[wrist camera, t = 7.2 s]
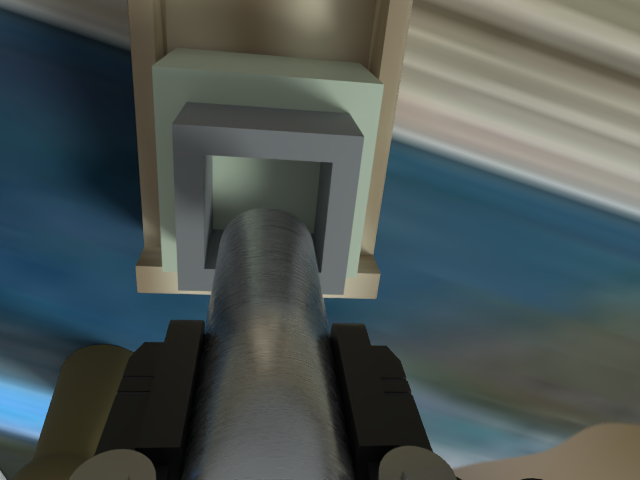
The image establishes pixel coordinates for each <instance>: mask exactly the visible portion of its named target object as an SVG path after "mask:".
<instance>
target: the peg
mask: <svg viewBox="0 0 640 480" xmlns="http://www.w3.org/2000/svg"><path fill="white" fill-rule="evenodd" d="M180 480H356V476H355V472H354V467H353V461H352V456H351V450H350V445H349V439H348V434H347V428H346V423H345V417H344V412H343V406H342V401H341V395H340V390H339V384H338V379H337V373H336V368H335V362H334V357H333V351H332V346H331V340H330V333H329V328H328V322H327V317H326V311H325V306H324V300H323V295H322V289H321V284H320V278H319V273H318V267H317V262H316V256H315V251H314V245H313V240H312V237H311V234H310V232H309V230H308V229H307V227H306V226H305V224H304V223H303V222H302V221H301V220H300V219H299V218H297V217H296V216H294V215H293V214H291V213H289V212H287V211H284V210H281V209H277V208H270V207H263V208H256V209H252V210H249V211H246V212H244V213H242V214H240V215H239V216H237V217H236V218H234V219H233V220H232V221H231V222H230V223H229V224H228V226H227V227H226V228H225V230H224V232H223V234H222V237H221V240H220V245H219V250H218V256H217V262H216V268H215V274H214V279H213V285H212V291H211V297H210V302H209V308H208V314H207V320H206V326H205V337H204V343H203V349H202V355H201V361H200V367H199V373H198V379H197V385H196V391H195V397H194V403H193V409H192V414H191V420H190V426H189V432H188V438H187V444H186V450H185V456H184V462H183V468H182V474H181V477H180Z"/></svg>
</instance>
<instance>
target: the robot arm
mask: <svg viewBox="0 0 640 480" xmlns="http://www.w3.org/2000/svg"><path fill="white" fill-rule="evenodd" d="M204 337H205V323H204V320H171V321H170V323H169V327H168V330H167V334H166V337H165V341H164V342H144V343H143V344H142V345H141V346H140V347H139V348H138V349H137V350H136V351H135V352H134V353H133V354H132V355H131V356H130V357H129V360H128V362H127V365H126V368H125V371H124V374H123V379H121V382H120V385H119V387H118V390H117V395H116V396H115V399H114V401H113V404H112V407H111V410H110V413H109V415H108V418H107V421H106V424H105V426H104V429H103V432H102V435H101V438H100V440H99V443H98V446H97V449H96V452H95V454H94V456H93V457H92V458H90V459H89V460H87V461H85V462H84V463H83V464H82V465H80V466H79V467H78V468H77V469H76V470H75V472H74V473H73V474H72V476H71V477H70V478H69V480H180V477H181V474H182V468H183V462H184V456H185V450H186V444H187V438H188V432H189V426H190V420H191V414H192V409H193V403H194V397H195V391H196V385H197V379H198V373H199V367H200V361H201V355H202V349H203V343H204ZM330 340H331V346H332V351H333V357H334V362H335V368H336V373H337V379H338V384H339V390H340V395H341V401H342V406H343V412H344V417H345V423H346V428H347V434H348V439H349V445H350V450H351V456H352V461H353V467H354V472H355V476H356V480H461V479H460V478H458V477H456V476H455V474H454V472H453V470H452V469H451V467H450V466H449V465H448V464H447V462H446V461H445V460H443V459H442V458H441V457H440V456H438V455H437V454H435V453H434V452H433V451H432V448H431V446H430V443H429V440H428V437H427V434H426V432H425V429H424V426H423V423H422V420H421V418H420V415H419V412H418V409H417V406H416V403H415V401H414V398H413V395H411V389H410V387H409V384H408V381H406V375H405V372H404V370H403V367H402V364H401V361H400V360H399V359H398V358H397V357H396V356H395V354H394V353H393V352H392V351H391V350H390V349H389V348H388V347H387V346H371V344H370V340H369V337H368V333H367V330H366V327H365V325H364V324H353V323H333V324H332V327H331V332H330ZM522 480H542V479H535V478H527V479H522Z"/></svg>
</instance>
